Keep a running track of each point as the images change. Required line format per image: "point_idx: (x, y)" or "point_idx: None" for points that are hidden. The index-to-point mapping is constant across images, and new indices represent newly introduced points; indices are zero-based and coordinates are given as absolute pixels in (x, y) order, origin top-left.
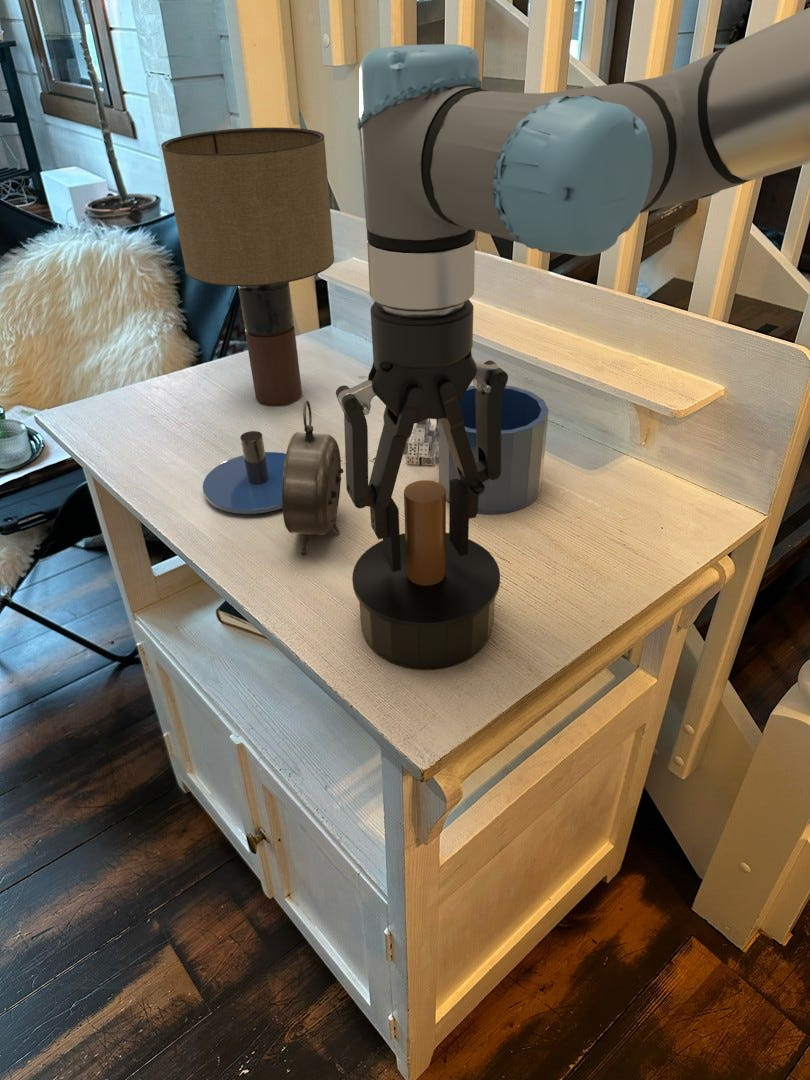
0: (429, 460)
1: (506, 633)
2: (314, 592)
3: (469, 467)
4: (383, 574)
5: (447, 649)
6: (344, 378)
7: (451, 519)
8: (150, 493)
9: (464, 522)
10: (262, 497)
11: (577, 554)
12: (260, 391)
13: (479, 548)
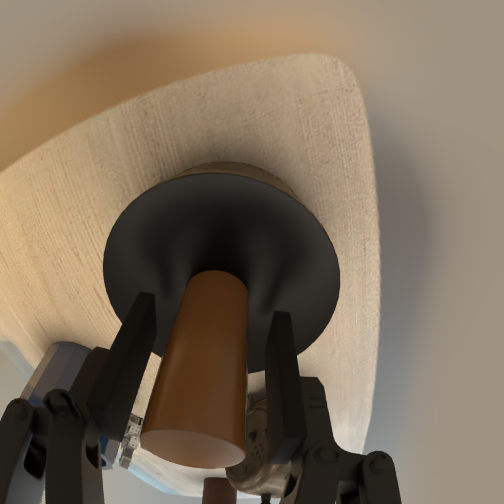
0: (132, 419)
1: (140, 184)
2: (316, 341)
3: (63, 466)
4: None
5: (241, 168)
6: (170, 477)
7: (143, 365)
8: (350, 447)
9: (121, 346)
10: None
11: (33, 263)
12: (234, 489)
13: (116, 305)
